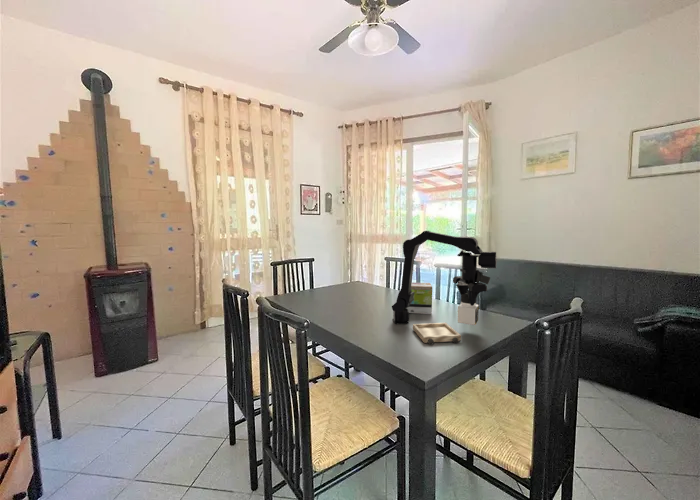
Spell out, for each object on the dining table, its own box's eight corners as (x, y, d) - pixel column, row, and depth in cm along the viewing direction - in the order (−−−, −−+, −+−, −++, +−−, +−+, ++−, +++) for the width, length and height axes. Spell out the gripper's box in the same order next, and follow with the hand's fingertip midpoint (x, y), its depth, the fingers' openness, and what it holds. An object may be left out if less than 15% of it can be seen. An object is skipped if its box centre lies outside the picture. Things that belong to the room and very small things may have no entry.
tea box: (402, 313, 157) (402, 285, 155) (401, 308, 167) (401, 281, 165) (432, 314, 155) (432, 286, 153) (429, 308, 165) (430, 282, 163)
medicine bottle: (475, 325, 124) (476, 297, 123) (457, 322, 128) (458, 295, 127) (478, 320, 130) (479, 293, 129) (461, 318, 134) (461, 291, 133)
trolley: (424, 344, 117) (425, 338, 117) (412, 329, 134) (412, 323, 134) (462, 342, 119) (462, 336, 118) (444, 327, 136) (444, 321, 135)
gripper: (500, 270, 118) (499, 309, 120) (476, 263, 137) (475, 297, 139) (473, 271, 117) (472, 310, 119) (452, 264, 136) (452, 298, 138)
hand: (468, 303), depth 129 cm, fingers closed on medicine bottle, 6 cm apart
